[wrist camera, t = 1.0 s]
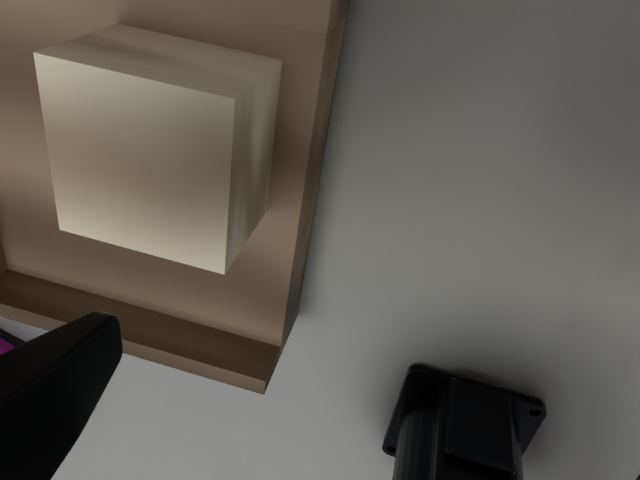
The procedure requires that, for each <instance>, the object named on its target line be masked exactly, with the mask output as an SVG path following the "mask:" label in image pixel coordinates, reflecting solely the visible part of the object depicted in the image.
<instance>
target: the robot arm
mask: <svg viewBox="0 0 640 480" xmlns="http://www.w3.org/2000/svg"><path fill="white" fill-rule="evenodd" d="M122 353H123V344H122V336H121V327H120V320H119V318H118V317H117V316H116V315H114V314H110V313H106V312H103V311H92V312H90V313H87V314H85V315H83V316H81V317H79V318H77V319H75V320H73V321H70V322H68V323H66V324H64V325H62V326H60V327H58V328H55V329H53V330H51V331H49V332H47V333H45V334H43V335H41V336H38V337H36V338H34V339H32V340H30V341H28V342H26V343H23V344H21V345H19V346H17V347H15V348H13V349H11V350H9V351H6V352H4V353H2V354H0V480H51V478H52V477H53V475H54V474H55V472H56V471H57V469H58V468H59V466H60V465H61V463H62V462H63V460H64V459H65V457H66V456H67V455H68V453H69V452H70V450H71V449H72V447H73V445H74V444H75V442H76V441H77V439H78V438H79V436H80V434H81V433H82V431H83V429H84V427H85V426H86V424H87V422H88V420H89V418H90V416H91V414H92V413H93V411H94V409H95V407H96V405H97V403H98V401H99V399H100V398H101V396H102V394H103V392H104V390H105V388H106V386H107V384H108V383H109V381H110V379H111V377H112V375H113V373H114V371H115V369H116V368H117V366H118V364H119V362H120V360H121V357H122ZM415 375H418V376H420V377H416V376H415ZM532 409H537V410H532ZM545 416H546V406H545V403H544V402H543V401H541V400H539V399H536V398H533V397H529V396H526V395H522V394H519V393H515V392H511V391H508V390H504V389H501V388H497V387H494V386H490V385H486V384H483V383H479V382H476V381H472V380H469V379H465V378H462V377H458V376H454V375H451V374H447V373H444V372H440V371H437V370H433V369H430V368H426V367H422V366H417V365H416V366H412V367H410V368H409V369H408V371H407V374H406V377H405V379H404V382H403V385H402V388H401V391H400V394H399V397H398V400H397V403H396V406H395V409H394V411H393V414H392V417H391V420H390V423H389V426H388V429H387V432H386V435H385V438H384V440H383V446H382V449H383V451H384V452H385V453H386V454H388V455H390V456H394V457H395V465H394V472H393V479H392V480H524V479H523V468H522V455H523V453H524V452H525V450H526V448H527V447H528V445H529V443H530V442H531V440H532V438H533V437H534V435H535V433H536V432H537V430H538V428H539V426H540V425H541V423H542V421H543V420H544V418H545ZM636 480H640V475H639V476H638V477H637V479H636Z"/></svg>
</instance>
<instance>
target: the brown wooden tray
mask: <svg viewBox="0 0 640 480" xmlns="http://www.w3.org/2000/svg"><path fill="white" fill-rule="evenodd" d="M348 3H349V0H0V316H1V317H4V318H8V319H11V320H14V321H18V322H21V323H24V324H28V325H31V326H35V327H38V328H41V329H45V330H48V331H51V330H53V329H55V328H58V327H60V326H62V325H64V324H66V323H68V322H70V321H73V320H75V319H77V318H79V317H81V316H83V315H85V314H87V313H90V312H92V311H103V312H106V313H110V314H114V315H116V316H117V317H118V318H119V320H120V327H121V336H122V344H123V353H125V354H129V355H132V356H135V357H139V358H142V359H145V360H149V361H152V362H156V363H159V364H162V365H166V366H169V367H172V368H176V369H179V370H182V371H186V372H189V373H193V374H196V375H199V376H203V377H206V378H209V379H213V380H216V381H219V382H223V383H226V384H229V385H233V386H236V387H240V388H243V389H246V390H250V391H253V392H256V393H260V394H263V395H264V393H265V391H266V389H267V386H268V384H269V381H270V379H271V377H272V374H273V372H274V370H275V367H276V365H277V363H278V360H279V358H280V355H281V353H282V351H283V348H284V346H285V344H286V341H287V339H288V337H289V334H290V332H291V329H292V327H293V325H294V322H295V320H296V318H297V314H298V307H299V301H300V295H301V289H302V283H303V277H304V271H305V265H306V259H307V253H308V247H309V241H310V234H311V228H312V222H313V216H314V210H315V204H316V198H317V192H318V186H319V180H320V174H321V168H322V161H323V155H324V149H325V143H326V137H327V131H328V125H329V119H330V113H331V107H332V101H333V95H334V88H335V82H336V76H337V70H338V64H339V58H340V52H341V46H342V40H343V34H344V28H345V22H346V15H347V9H348ZM117 23H118V24H122V25H127V26H132V27H136V28H141V29H145V30H150V31H154V32H159V33H163V34H168V35H172V36H177V37H181V38H186V39H190V40H195V41H199V42H204V43H209V44H213V45H218V46H222V47H227V48H231V49H236V50H240V51H245V52H249V53H254V54H258V55H263V56H267V57H272V58H276V59H281V60H282V68H281V77H280V87H279V96H278V106H277V115H276V124H275V134H274V143H273V153H272V162H271V172H270V181H269V190H268V200H267V209H266V213H265V214H264V216H263V218H262V219H261V221H260V222H259V224H258V225H257V227H256V228H255V230H254V231H253V233H252V234H251V236H250V237H249V239H248V240H247V242H246V243H245V245H244V246H243V248H242V249H241V251H240V252H239V254H238V255H237V257H236V258H235V260H234V261H233V263H232V264H231V266H230V267H229V269H228V270H227V272H226V273H225V275H224V274H220V273H216V272H213V271H209V270H205V269H202V268H198V267H194V266H191V265H187V264H183V263H180V262H176V261H172V260H169V259H165V258H161V257H158V256H154V255H150V254H147V253H143V252H139V251H136V250H132V249H128V248H125V247H121V246H117V245H114V244H110V243H106V242H103V241H99V240H95V239H92V238H88V237H84V236H81V235H77V234H73V233H70V232H66V231H62V230H60V229H59V223H58V216H57V209H56V202H55V196H54V189H53V182H52V175H51V169H50V162H49V155H48V148H47V142H46V135H45V128H44V122H43V115H42V108H41V101H40V95H39V88H38V81H37V74H36V68H35V61H34V54H33V52H36V51H39V50H42V49H45V48H48V47H51V46H53V45H56V44H59V43H62V42H65V41H68V40H71V39H74V38H77V37H80V36H82V35H85V34H88V33H91V32H94V31H97V30H100V29H103V28H106V27H109V26H112V25H114V24H117Z"/></svg>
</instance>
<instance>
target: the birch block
mask: <svg viewBox="0 0 640 480" xmlns="http://www.w3.org/2000/svg"><path fill="white" fill-rule="evenodd" d="M33 54H34V61H35V68H36V74H37V81H38V88H39V95H40V101H41V108H42V115H43V122H44V128H45V135H46V142H47V148H48V155H49V162H50V169H51V175H52V182H53V189H54V196H55V202H56V209H57V216H58V223H59V229H60V230H62V231H66V232H70V233H73V234H77V235H81V236H84V237H88V238H92V239H95V240H99V241H103V242H106V243H110V244H114V245H117V246H121V247H125V248H128V249H132V250H136V251H139V252H143V253H147V254H150V255H154V256H158V257H161V258H165V259H169V260H172V261H176V262H180V263H183V264H187V265H191V266H194V267H198V268H202V269H205V270H209V271H213V272H216V273H220V274H224V275H225V273H226V272H227V270H228V269H229V267H230V266H231V264H232V263H233V261H234V260H235V258H236V257H237V255H238V254H239V252H240V251H241V249H242V248H243V246H244V245H245V243H246V242H247V240H248V239H249V237H250V236H251V234H252V233H253V231H254V230H255V228H256V227H257V225H258V224H259V222H260V221H261V219H262V218H263V216H264V214H265V213H266V209H267V200H268V190H269V181H270V172H271V162H272V153H273V143H274V134H275V124H276V115H277V106H278V96H279V87H280V77H281V68H282V60H281V59H276V58H272V57H267V56H263V55H258V54H254V53H249V52H245V51H240V50H236V49H231V48H227V47H222V46H218V45H213V44H209V43H204V42H199V41H195V40H190V39H186V38H181V37H177V36H172V35H168V34H163V33H159V32H154V31H150V30H145V29H141V28H136V27H132V26H127V25H122V24H118V23H117V24H114V25H112V26H109V27H106V28H103V29H100V30H97V31H94V32H91V33H88V34H85V35H82V36H80V37H77V38H74V39H71V40H68V41H65V42H62V43H59V44H56V45H53V46H51V47H48V48H45V49H42V50H39V51H36V52H33Z"/></svg>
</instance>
